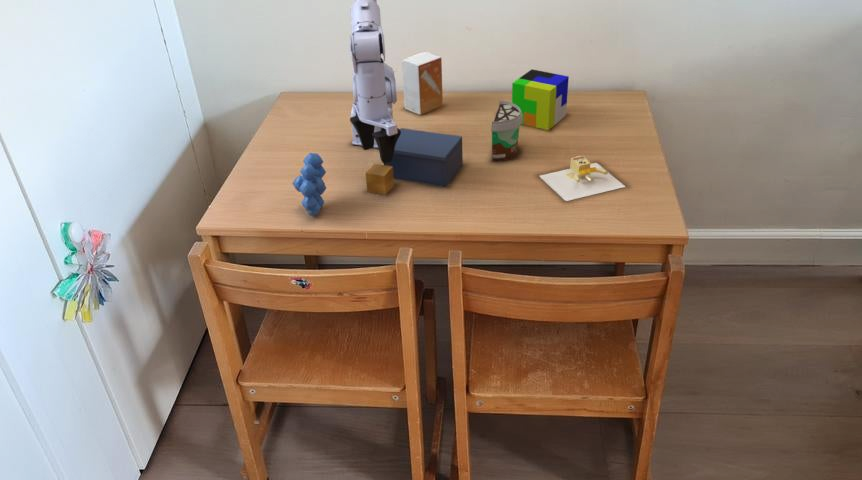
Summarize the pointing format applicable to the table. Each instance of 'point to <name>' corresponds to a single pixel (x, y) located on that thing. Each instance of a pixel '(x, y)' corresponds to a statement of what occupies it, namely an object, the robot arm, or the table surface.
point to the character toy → (581, 180)
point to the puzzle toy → (541, 98)
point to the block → (379, 179)
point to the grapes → (311, 183)
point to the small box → (422, 82)
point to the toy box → (427, 168)
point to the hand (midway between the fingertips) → (377, 155)
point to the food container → (505, 131)
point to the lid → (426, 144)
